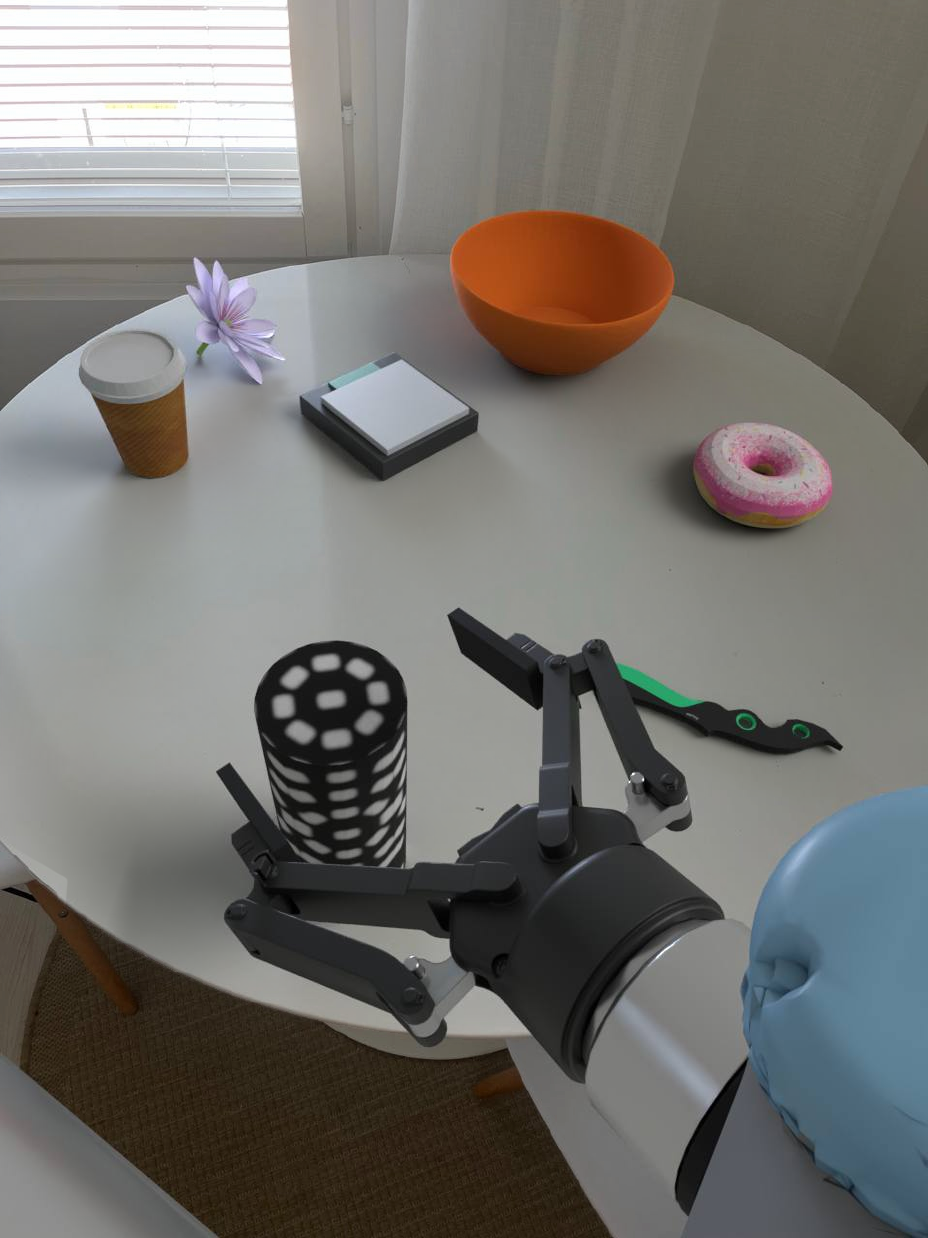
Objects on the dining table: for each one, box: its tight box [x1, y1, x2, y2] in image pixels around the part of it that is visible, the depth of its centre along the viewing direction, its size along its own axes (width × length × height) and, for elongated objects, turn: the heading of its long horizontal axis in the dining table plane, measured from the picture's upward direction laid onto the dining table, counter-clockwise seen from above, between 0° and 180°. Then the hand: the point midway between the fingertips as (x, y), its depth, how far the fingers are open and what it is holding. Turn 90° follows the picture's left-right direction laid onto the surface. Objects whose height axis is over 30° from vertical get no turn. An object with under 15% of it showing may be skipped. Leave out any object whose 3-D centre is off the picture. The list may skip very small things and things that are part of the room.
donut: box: [693, 422, 834, 529], centre depth 91 cm, size 14×13×5 cm
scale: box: [298, 351, 480, 482], centre depth 96 cm, size 14×13×3 cm
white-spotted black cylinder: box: [253, 639, 409, 868], centre depth 57 cm, size 8×8×20 cm
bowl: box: [449, 209, 675, 376], centre depth 105 cm, size 25×25×10 cm
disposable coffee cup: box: [78, 328, 190, 479], centre depth 87 cm, size 10×10×12 cm
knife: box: [616, 662, 844, 755], centre depth 75 cm, size 23×1×5 cm
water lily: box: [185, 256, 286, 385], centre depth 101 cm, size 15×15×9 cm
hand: (352, 703), depth 45 cm, fingers open, 13 cm apart
